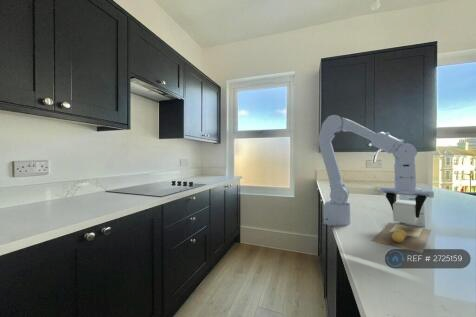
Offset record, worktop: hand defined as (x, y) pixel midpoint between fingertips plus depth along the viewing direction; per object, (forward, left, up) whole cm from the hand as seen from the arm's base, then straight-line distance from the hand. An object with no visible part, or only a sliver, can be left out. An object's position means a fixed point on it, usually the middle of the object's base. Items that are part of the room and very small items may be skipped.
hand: (405, 215), depth 72 cm
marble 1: (0, -10, -4) cm, 11 cm away
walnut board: (0, -6, -6) cm, 9 cm away
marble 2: (0, -14, -4) cm, 14 cm away
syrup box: (0, +13, -6) cm, 15 cm away
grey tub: (0, 0, -1) cm, 1 cm away
